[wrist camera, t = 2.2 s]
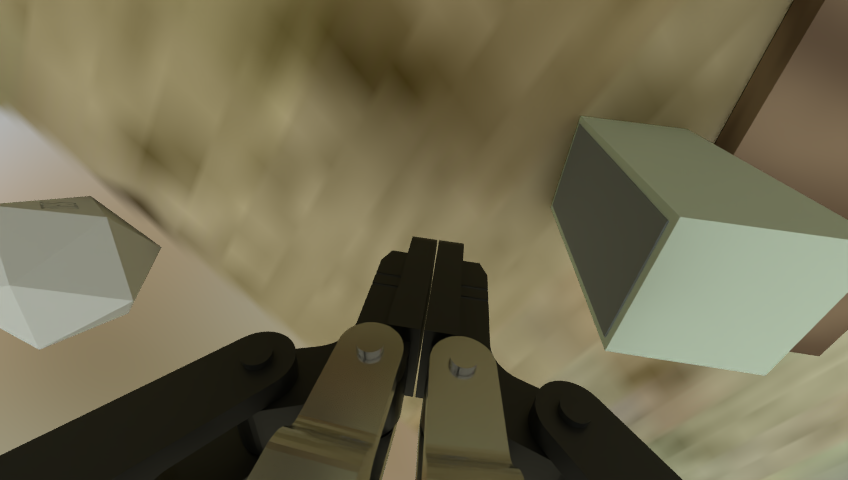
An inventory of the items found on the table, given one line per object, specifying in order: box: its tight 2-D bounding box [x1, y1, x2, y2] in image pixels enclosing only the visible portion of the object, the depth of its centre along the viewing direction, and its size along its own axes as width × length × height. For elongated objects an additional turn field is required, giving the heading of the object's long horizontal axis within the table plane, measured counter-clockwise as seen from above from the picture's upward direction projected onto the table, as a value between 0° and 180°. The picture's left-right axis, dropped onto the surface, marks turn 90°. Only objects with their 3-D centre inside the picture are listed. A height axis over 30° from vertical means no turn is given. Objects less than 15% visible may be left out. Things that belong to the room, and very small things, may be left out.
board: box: [715, 0, 848, 356], centre depth 17 cm, size 18×11×2 cm, turn 175°
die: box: [0, 196, 161, 349], centre depth 22 cm, size 8×9×10 cm
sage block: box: [551, 116, 848, 376], centre depth 14 cm, size 5×5×10 cm
